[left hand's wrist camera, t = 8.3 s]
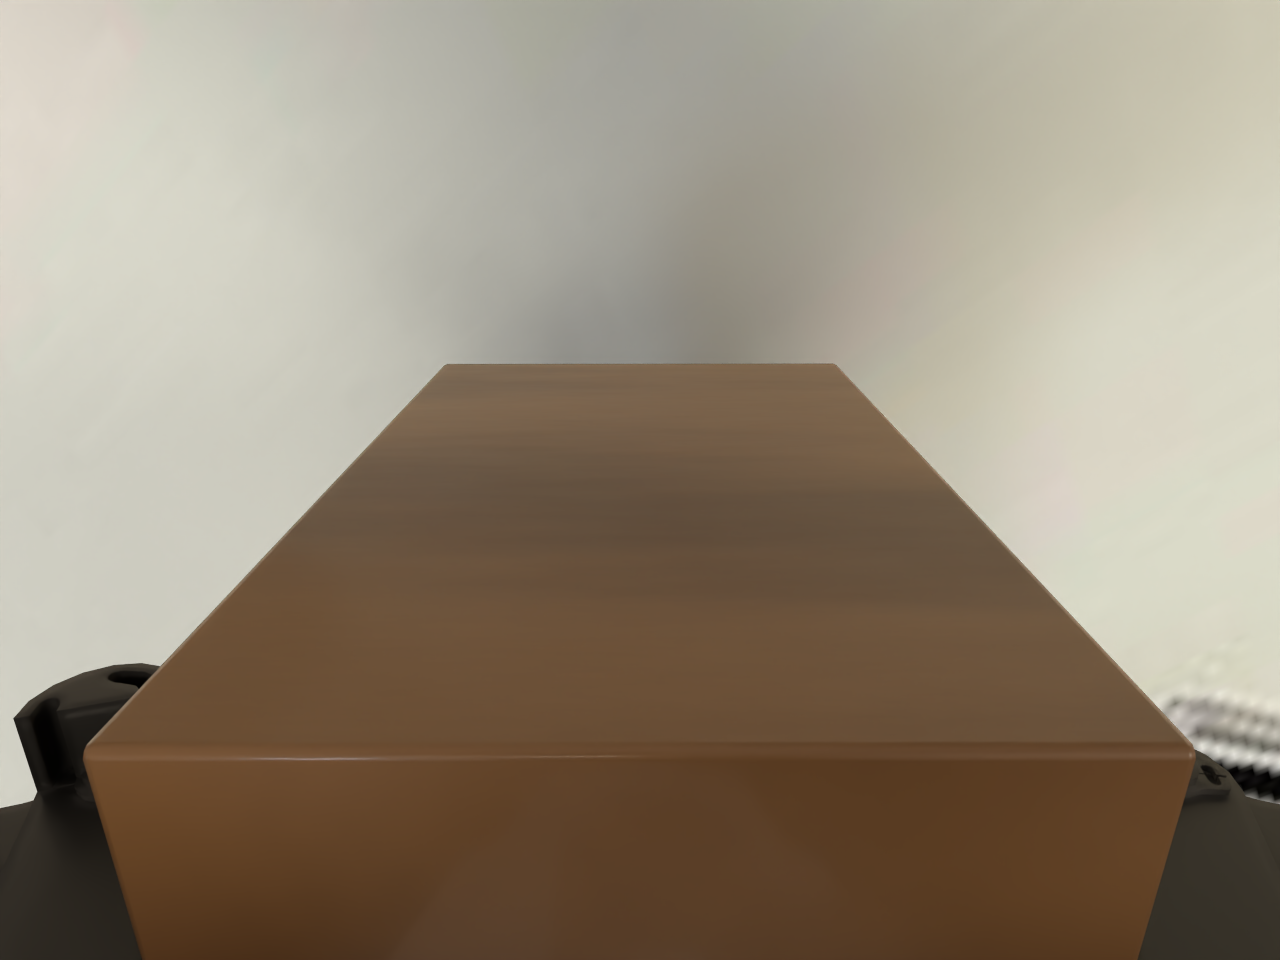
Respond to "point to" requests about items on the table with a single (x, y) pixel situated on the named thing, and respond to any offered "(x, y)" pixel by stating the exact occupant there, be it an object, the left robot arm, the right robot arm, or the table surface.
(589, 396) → the box
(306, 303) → the table surface
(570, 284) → the table surface
